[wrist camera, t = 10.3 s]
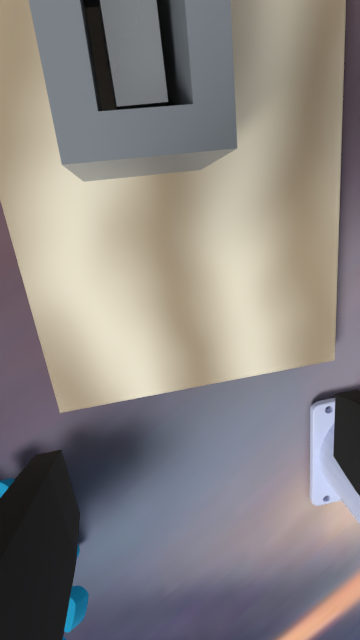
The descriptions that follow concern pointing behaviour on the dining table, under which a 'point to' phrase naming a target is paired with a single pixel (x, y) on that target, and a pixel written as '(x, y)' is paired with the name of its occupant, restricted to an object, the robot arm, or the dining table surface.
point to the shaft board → (184, 220)
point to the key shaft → (134, 53)
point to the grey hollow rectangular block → (141, 123)
